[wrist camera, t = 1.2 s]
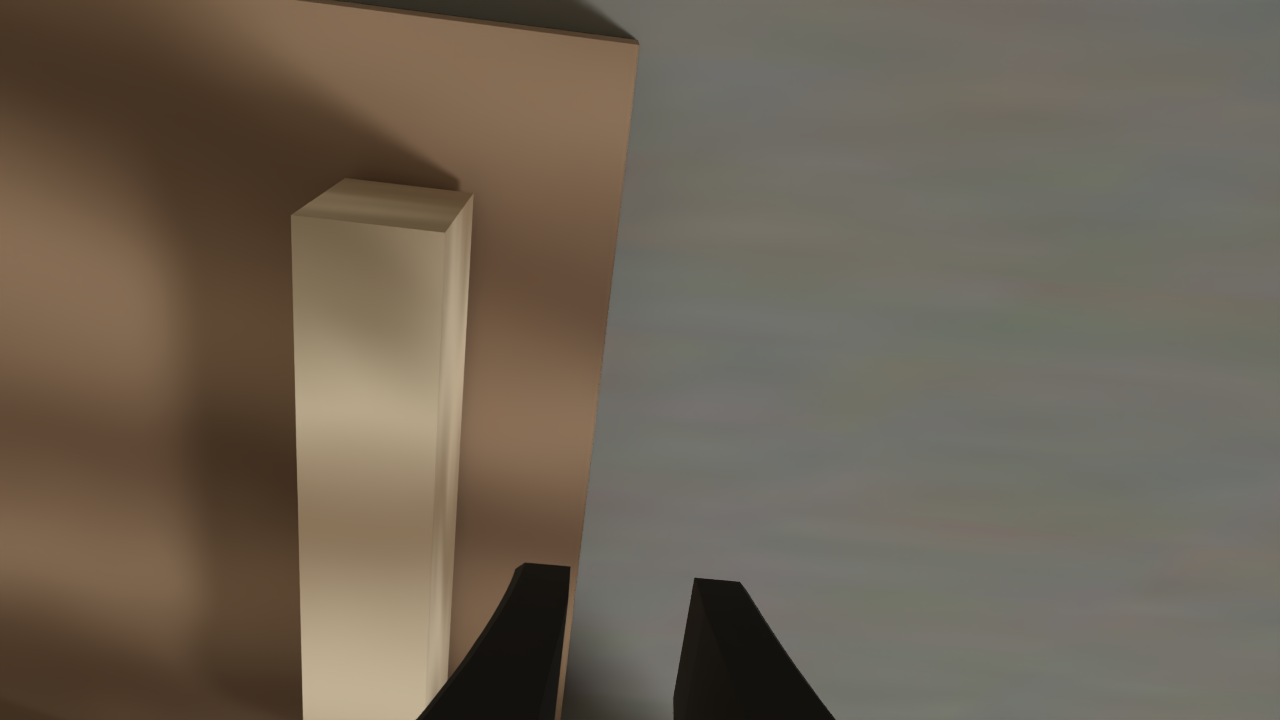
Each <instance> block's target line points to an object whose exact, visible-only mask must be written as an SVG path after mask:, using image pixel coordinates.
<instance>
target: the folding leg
mask: <svg viewBox="0 0 1280 720" xmlns="http://www.w3.org/2000/svg"><path fill="white" fill-rule="evenodd" d="M473 196H474V193H468V192H460V191H451V190H443V189H434V188H426V187H417V186H409V185H400V184H392V183H383V182H375V181H366V180H358V179H349V178H345V179H343V180H342V181H340V182H339V183H337V184H336V185H334V186H333V187H331V188H330V189H328V190H327V191H325V192H324V193H323V194H321V195H320V196H318V197H317V198H315V199H314V200H312V201H311V202H309V203H308V204H306V205H305V206H303V207H302V208H301V209H299V210H298V211H296V212H295V213H293V214H292V215H291V241H292V283H293V324H294V365H295V406H296V448H297V489H298V530H299V571H300V612H301V654H302V695H303V720H416V719H417V718H418V717H419V716H420V714H421V713H422V712H423V711H424V710H425V708H426V707H427V706H428V705H429V703H430V702H431V701H432V699H433V698H434V697H435V696H436V694H437V693H438V692H439V691H440V689H441V688H442V687H443V686H444V684H445V683H446V682H447V679H448V661H449V642H450V623H451V605H452V586H453V568H454V549H455V530H456V512H457V493H458V475H459V456H460V437H461V419H462V400H463V382H464V363H465V344H466V326H467V307H468V289H469V270H470V252H471V233H472V214H473Z"/></svg>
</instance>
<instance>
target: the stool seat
mask: <svg viewBox="0 0 1280 720" xmlns="http://www.w3.org/2000/svg"><path fill="white" fill-rule="evenodd" d="M638 53H639V42H638V40H634V39H626V38H619V37H611V36H603V35H596V34H588V33H580V32H573V31H565V30H557V29H550V28H542V27H534V26H527V25H519V24H512V23H504V22H496V21H489V20H481V19H473V18H466V17H458V16H450V15H443V14H435V13H427V12H420V11H412V10H404V9H397V8H389V7H381V6H374V5H366V4H358V3H351V2H343V1H336V0H0V720H303V695H302V654H301V612H300V571H299V530H298V489H297V448H296V406H295V365H294V324H293V283H292V241H291V215H292V214H293V213H295V212H296V211H298V210H299V209H301V208H302V207H303V206H305V205H306V204H308V203H309V202H311V201H312V200H314V199H315V198H317V197H318V196H320V195H321V194H323V193H324V192H325V191H327V190H328V189H330V188H331V187H333V186H334V185H336V184H337V183H339V182H340V181H342V180H343V179H345V178H349V179H358V180H366V181H375V182H383V183H392V184H400V185H409V186H417V187H426V188H434V189H443V190H451V191H460V192H468V193H474V196H473V214H472V233H471V252H470V270H469V289H468V307H467V326H466V344H465V363H464V382H463V400H462V419H461V437H460V456H459V475H458V493H457V512H456V530H455V549H454V568H453V586H452V605H451V623H450V642H449V661H448V679H449V678H450V677H451V675H452V674H453V673H454V672H455V670H456V669H457V668H458V666H459V665H460V663H461V662H462V661H463V659H464V658H465V656H466V655H467V653H468V652H469V650H470V649H471V647H472V646H473V644H474V643H475V642H476V640H477V639H478V637H479V636H480V634H481V633H482V631H483V630H484V628H485V627H486V625H487V623H488V622H489V620H490V618H491V617H492V615H493V613H494V612H495V610H496V608H497V607H498V605H499V603H500V601H501V600H502V598H503V596H504V594H505V592H506V590H507V588H508V586H509V584H510V582H511V579H512V577H513V574H514V571H515V569H516V568H517V567H519V566H520V565H522V564H523V563H524V562H527V563H538V564H549V565H560V566H571V569H570V584H569V598H568V607H567V616H566V624H565V633H564V642H563V651H562V659H561V668H560V677H559V686H558V695H557V703H556V712H555V720H560V719H561V711H562V702H563V694H564V685H565V677H566V668H567V660H568V651H569V643H570V634H571V625H572V617H573V608H574V600H575V591H576V583H577V574H578V566H579V557H580V549H581V540H582V531H583V523H584V514H585V506H586V497H587V489H588V480H589V472H590V463H591V455H592V446H593V437H594V429H595V420H596V412H597V403H598V395H599V386H600V378H601V369H602V361H603V352H604V343H605V335H606V326H607V318H608V309H609V301H610V292H611V284H612V275H613V266H614V258H615V249H616V241H617V232H618V224H619V215H620V207H621V198H622V190H623V181H624V172H625V164H626V155H627V147H628V138H629V130H630V121H631V113H632V104H633V96H634V87H635V78H636V70H637V61H638ZM448 679H447V680H448Z"/></svg>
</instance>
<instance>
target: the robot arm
mask: <svg viewBox="0 0 1280 720" xmlns="http://www.w3.org/2000/svg"><path fill="white" fill-rule="evenodd" d="M570 569H571V566H560V565H549V564H538V563H527V562H524V563H523V564H522V565H520V566H519V567H517V568H516V569H515V571H514V574H513V577H512V579H511V582H510V584H509V586H508V588H507V590H506V592H505V594H504V596H503V598H502V600H501V601H500V603H499V605H498V607H497V608H496V610H495V612H494V613H493V615H492V617H491V618H490V620H489V622H488V623H487V625H486V627H485V628H484V630H483V631H482V633H481V634H480V636H479V637H478V639H477V640H476V642H475V643H474V644H473V646H472V647H471V649H470V650H469V652H468V653H467V655H466V656H465V658H464V659H463V661H462V662H461V663H460V665H459V666H458V668H457V669H456V670H455V672H454V673H453V674H452V675H451V677H450V678H449V679H448V680H447V682H446V683H445V684H444V686H443V687H442V688H441V689H440V691H439V692H438V693H437V694H436V696H435V697H434V698H433V699H432V701H431V702H430V703H429V705H428V706H427V707H426V708H425V710H424V711H423V712H422V713H421V714H420V716H419V717H418V718H417V719H416V720H555V712H556V703H557V695H558V686H559V677H560V668H561V659H562V651H563V642H564V633H565V624H566V616H567V607H568V598H569V584H570ZM673 708H674V720H835V718H834V717H833V716H832V714H831V713H830V712H829V710H828V709H827V708H826V707H825V705H824V704H823V703H822V701H821V700H820V699H819V697H818V696H817V695H816V693H815V692H814V690H813V689H812V688H811V686H810V685H809V684H808V682H807V681H806V679H805V678H804V677H803V675H802V674H801V673H800V671H799V670H798V668H797V667H796V666H795V664H794V663H793V661H792V660H791V658H790V657H789V656H788V654H787V653H786V651H785V650H784V648H783V647H782V645H781V644H780V642H779V641H778V639H777V638H776V636H775V635H774V633H773V632H772V630H771V629H770V627H769V625H768V624H767V622H766V621H765V619H764V618H763V616H762V614H761V613H760V611H759V610H758V608H757V607H756V605H755V603H754V602H753V600H752V599H751V597H750V595H749V594H748V592H747V591H746V589H745V588H744V587H743V585H742V584H741V583H740V582H736V581H725V580H714V579H703V578H694V584H693V589H692V595H691V601H690V606H689V612H688V618H687V623H686V629H685V635H684V640H683V646H682V652H681V657H680V663H679V669H678V674H677V680H676V686H675V691H674V697H673Z"/></svg>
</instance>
